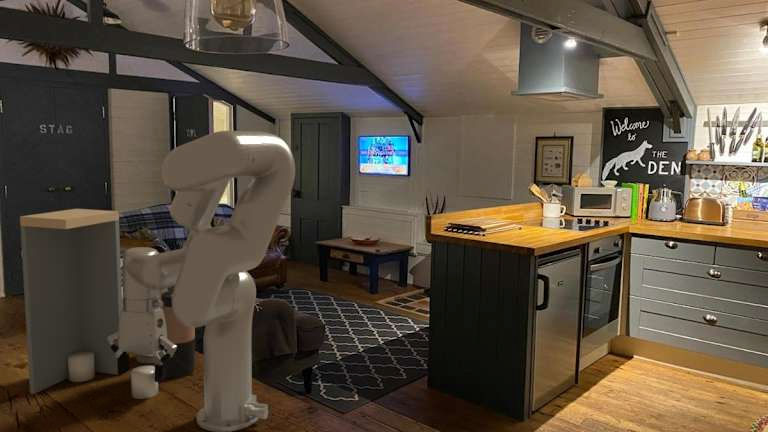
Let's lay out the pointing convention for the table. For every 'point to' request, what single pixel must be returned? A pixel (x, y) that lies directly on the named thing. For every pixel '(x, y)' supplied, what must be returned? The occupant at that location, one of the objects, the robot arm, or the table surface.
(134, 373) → the cream smooth rounded cylinder
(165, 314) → the travel mug
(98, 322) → the counter
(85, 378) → the cream rounded knob
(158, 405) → the table surface
